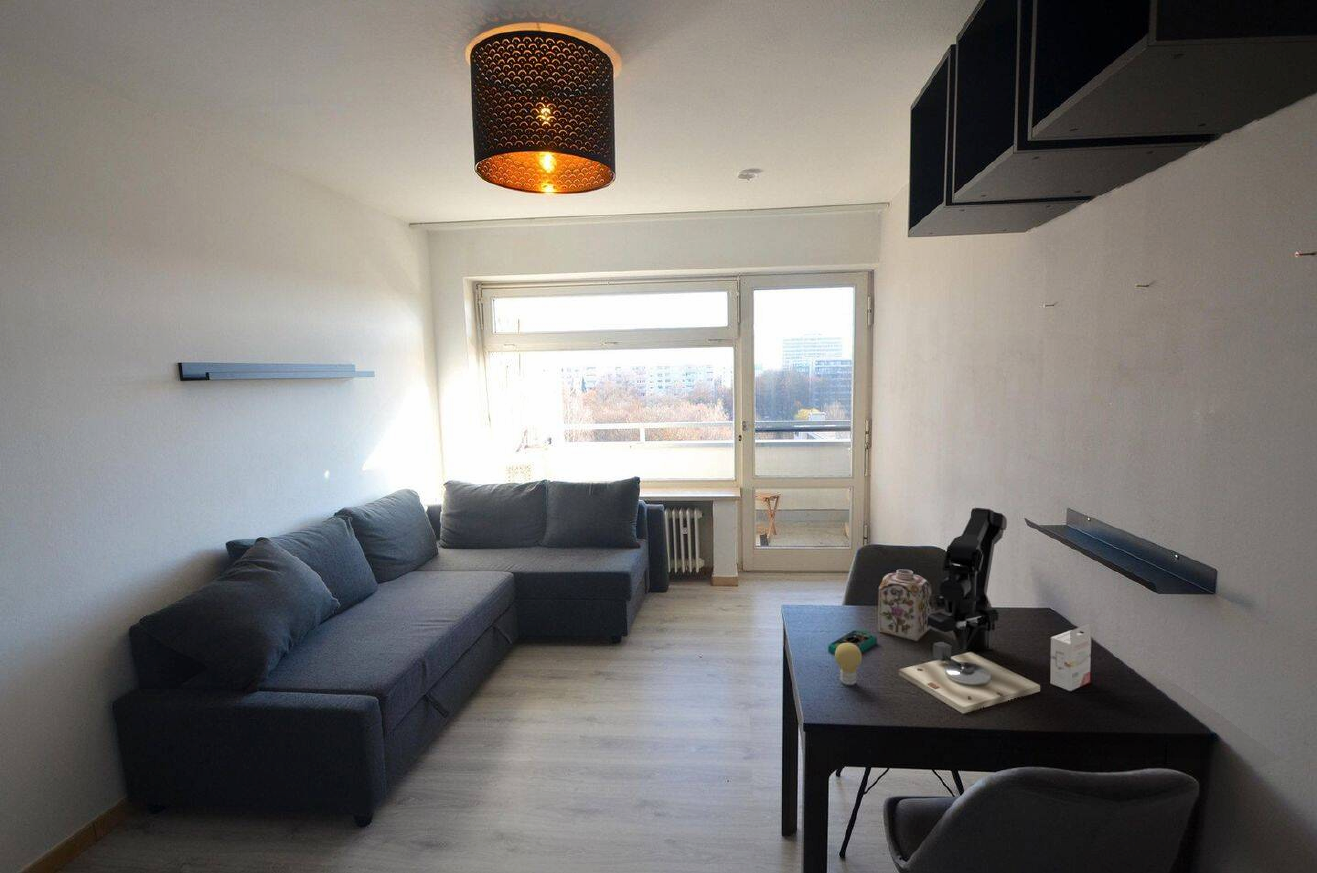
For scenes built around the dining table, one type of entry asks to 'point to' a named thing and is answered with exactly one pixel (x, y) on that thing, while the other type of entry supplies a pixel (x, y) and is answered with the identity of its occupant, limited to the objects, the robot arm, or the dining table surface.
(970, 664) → the dial
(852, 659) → the light bulb
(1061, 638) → the ink cartridge box
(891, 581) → the decorative jar
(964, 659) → the dial board
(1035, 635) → the dining table surface
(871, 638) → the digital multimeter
